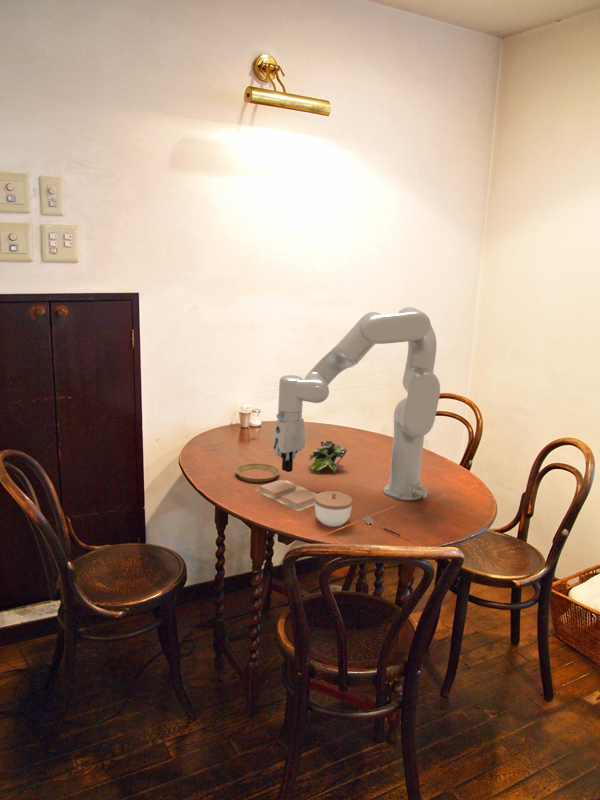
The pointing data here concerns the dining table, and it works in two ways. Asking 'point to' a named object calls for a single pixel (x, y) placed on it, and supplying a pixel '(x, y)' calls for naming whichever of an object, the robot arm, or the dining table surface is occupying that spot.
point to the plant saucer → (257, 466)
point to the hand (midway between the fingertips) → (287, 470)
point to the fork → (383, 528)
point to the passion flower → (326, 456)
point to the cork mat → (288, 493)
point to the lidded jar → (333, 508)
